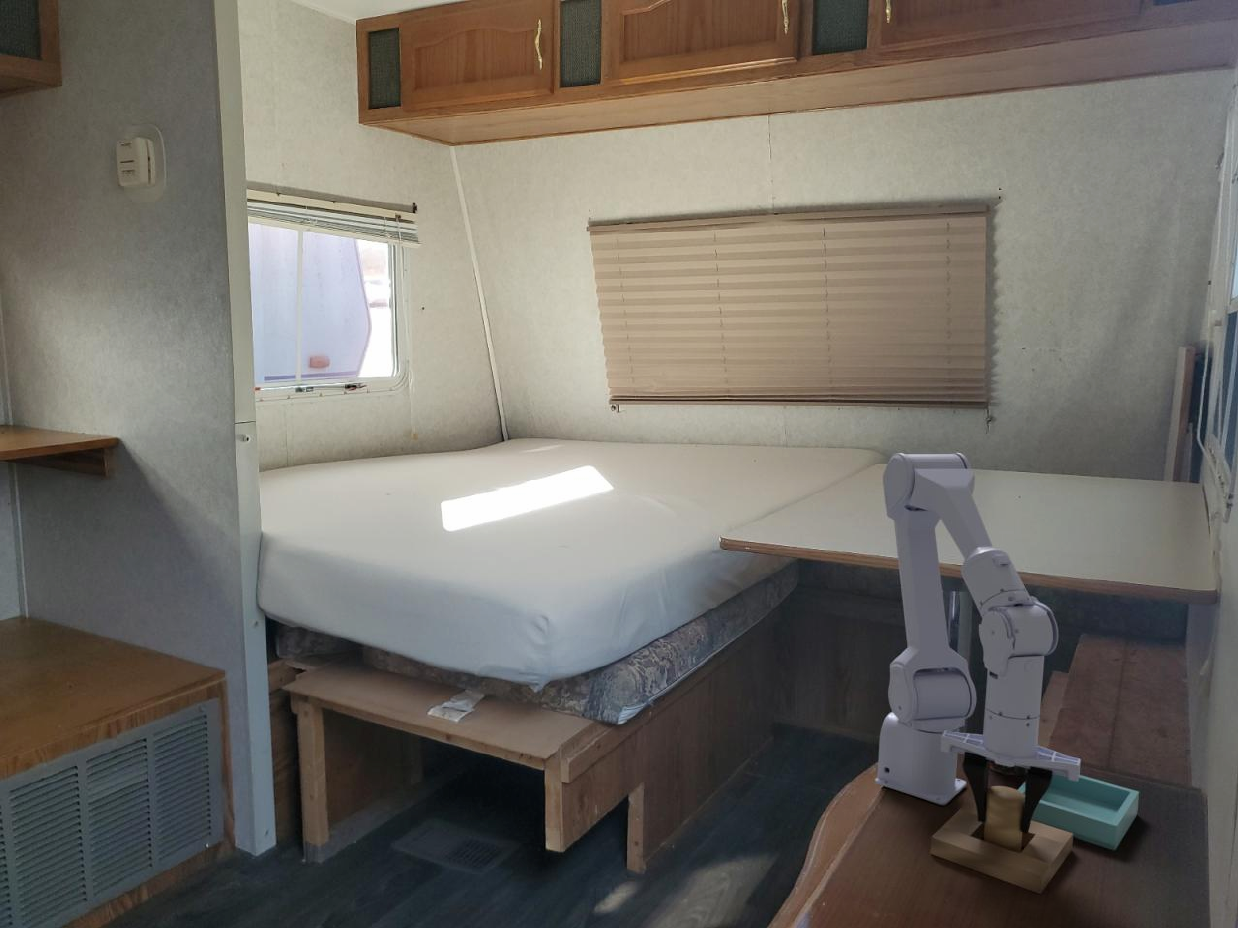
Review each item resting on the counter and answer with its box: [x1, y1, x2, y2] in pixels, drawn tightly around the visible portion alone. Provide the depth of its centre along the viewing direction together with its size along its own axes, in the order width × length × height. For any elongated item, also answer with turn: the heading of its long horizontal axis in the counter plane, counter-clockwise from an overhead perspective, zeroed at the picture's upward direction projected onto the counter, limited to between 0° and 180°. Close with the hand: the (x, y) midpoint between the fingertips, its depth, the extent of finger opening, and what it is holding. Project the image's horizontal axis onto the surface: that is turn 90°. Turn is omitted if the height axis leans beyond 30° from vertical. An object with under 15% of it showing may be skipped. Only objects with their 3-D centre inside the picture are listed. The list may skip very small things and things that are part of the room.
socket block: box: [929, 800, 1074, 895], centre depth 108 cm, size 12×12×2 cm
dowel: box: [983, 785, 1025, 853], centre depth 108 cm, size 4×4×7 cm
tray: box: [1017, 774, 1140, 852], centre depth 117 cm, size 12×12×3 cm
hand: (1003, 823), depth 108 cm, fingers closed on dowel, 4 cm apart
